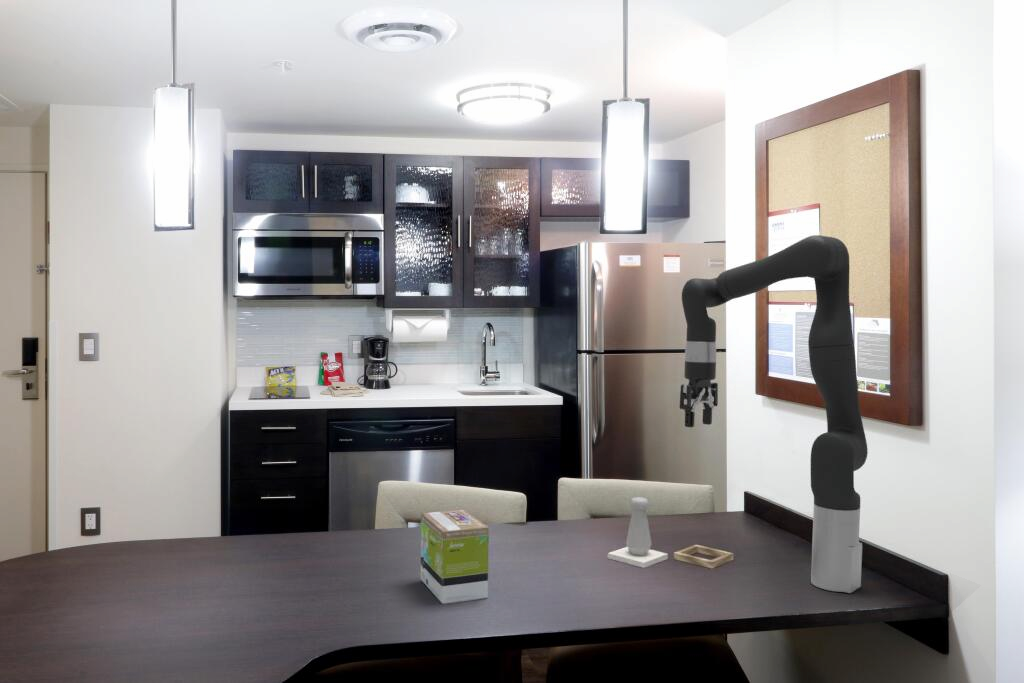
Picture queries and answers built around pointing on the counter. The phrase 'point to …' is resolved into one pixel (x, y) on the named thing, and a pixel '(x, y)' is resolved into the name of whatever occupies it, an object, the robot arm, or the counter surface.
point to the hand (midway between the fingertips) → (698, 425)
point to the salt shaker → (639, 528)
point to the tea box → (454, 556)
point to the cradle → (686, 557)
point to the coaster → (637, 557)
